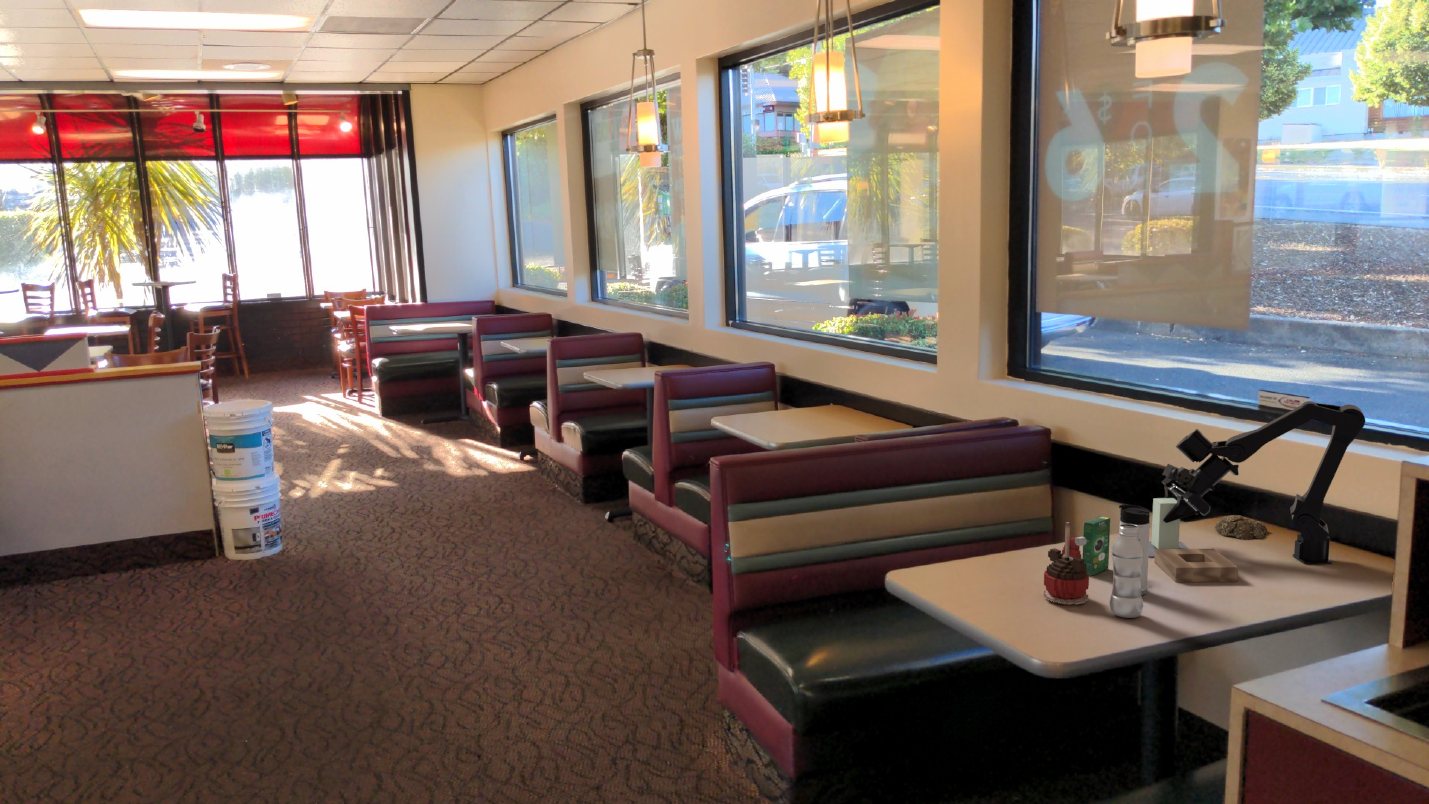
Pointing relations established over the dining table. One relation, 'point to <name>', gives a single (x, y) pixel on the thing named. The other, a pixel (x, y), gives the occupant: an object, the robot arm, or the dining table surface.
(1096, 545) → the coffee box
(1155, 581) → the dining table surface
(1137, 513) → the travel mug
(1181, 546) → the mat
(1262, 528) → the brown rock
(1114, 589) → the plastic bottle
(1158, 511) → the block
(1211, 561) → the holder
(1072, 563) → the cake
